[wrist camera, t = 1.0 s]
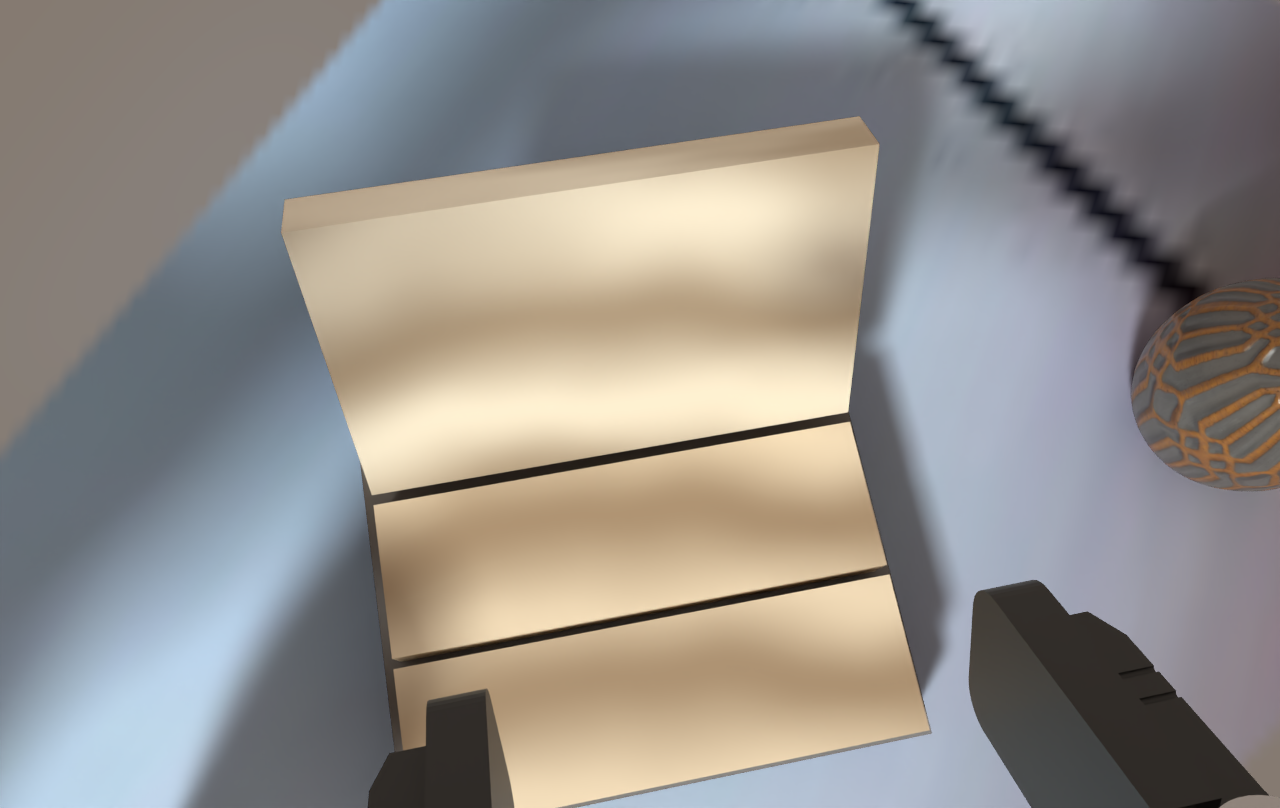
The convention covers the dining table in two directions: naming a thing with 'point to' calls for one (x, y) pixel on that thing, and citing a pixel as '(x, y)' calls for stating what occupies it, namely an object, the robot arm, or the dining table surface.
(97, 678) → the dining table surface
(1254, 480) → the vase
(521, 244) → the oak plank
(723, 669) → the floor board
